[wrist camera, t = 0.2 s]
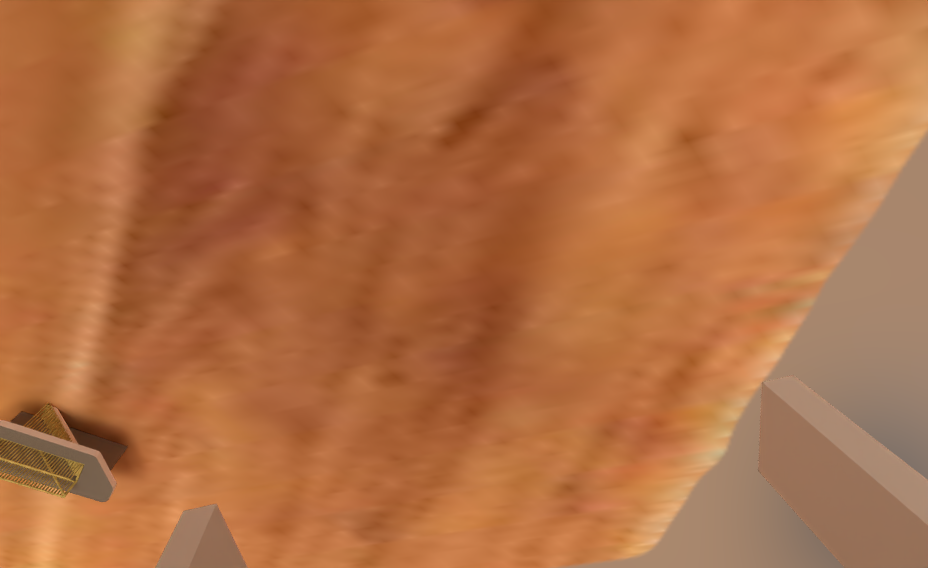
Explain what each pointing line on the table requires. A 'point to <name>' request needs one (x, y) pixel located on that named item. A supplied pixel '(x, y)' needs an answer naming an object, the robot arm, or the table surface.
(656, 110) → the table surface
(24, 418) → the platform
